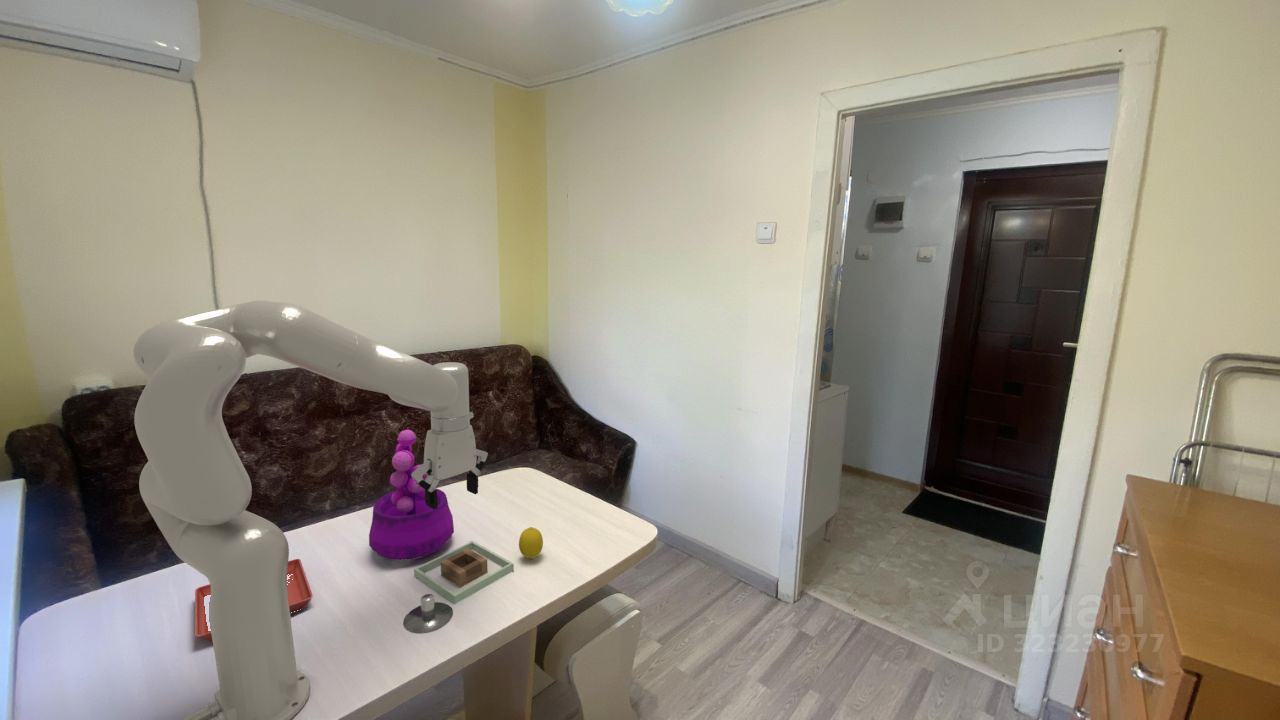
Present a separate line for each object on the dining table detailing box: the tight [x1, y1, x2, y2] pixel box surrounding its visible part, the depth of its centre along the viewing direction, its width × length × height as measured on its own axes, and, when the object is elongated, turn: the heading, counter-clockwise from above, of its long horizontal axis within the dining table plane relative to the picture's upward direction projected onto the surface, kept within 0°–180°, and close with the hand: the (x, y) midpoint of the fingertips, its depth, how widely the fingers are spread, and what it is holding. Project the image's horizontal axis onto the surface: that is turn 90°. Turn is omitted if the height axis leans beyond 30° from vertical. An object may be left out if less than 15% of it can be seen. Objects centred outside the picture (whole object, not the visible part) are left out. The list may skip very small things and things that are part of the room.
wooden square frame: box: [440, 549, 489, 588], centre depth 116 cm, size 7×7×4 cm
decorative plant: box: [368, 429, 455, 561], centre depth 124 cm, size 19×18×30 cm
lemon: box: [518, 526, 544, 560], centre depth 123 cm, size 6×6×8 cm
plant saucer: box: [194, 558, 314, 641], centre depth 105 cm, size 18×18×3 cm
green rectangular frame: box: [413, 540, 515, 605], centre depth 116 cm, size 15×15×2 cm
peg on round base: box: [402, 593, 454, 635], centre depth 102 cm, size 9×9×5 cm
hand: (452, 499), depth 112 cm, fingers open, 9 cm apart
